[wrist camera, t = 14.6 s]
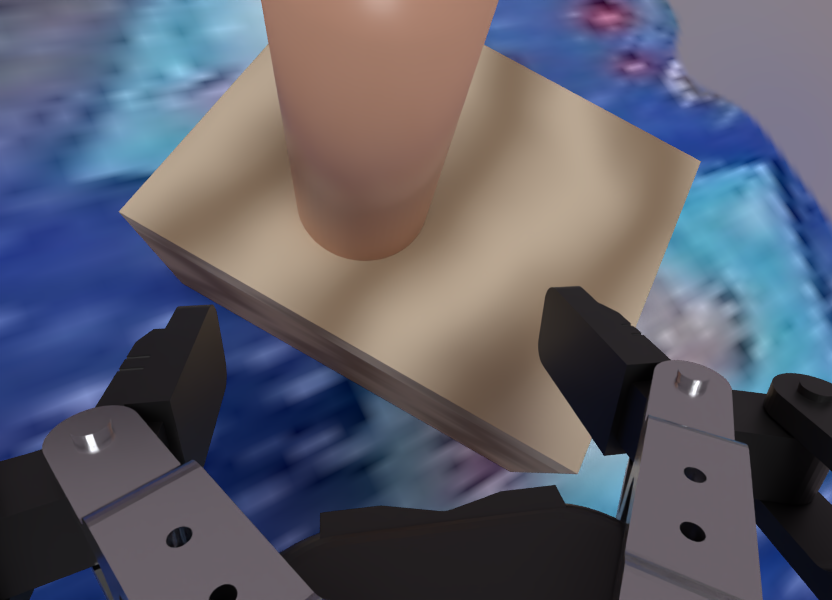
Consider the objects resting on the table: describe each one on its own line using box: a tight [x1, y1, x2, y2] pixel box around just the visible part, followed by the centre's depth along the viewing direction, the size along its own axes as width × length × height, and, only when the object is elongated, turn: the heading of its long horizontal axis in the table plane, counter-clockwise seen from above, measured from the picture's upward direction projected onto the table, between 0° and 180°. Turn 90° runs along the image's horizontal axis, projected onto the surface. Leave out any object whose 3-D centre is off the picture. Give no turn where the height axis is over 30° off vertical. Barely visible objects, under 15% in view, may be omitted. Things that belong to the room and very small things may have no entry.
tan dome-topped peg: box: [261, 0, 498, 261], centre depth 16 cm, size 5×5×11 cm
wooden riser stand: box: [119, 44, 701, 474], centre depth 25 cm, size 20×16×8 cm
